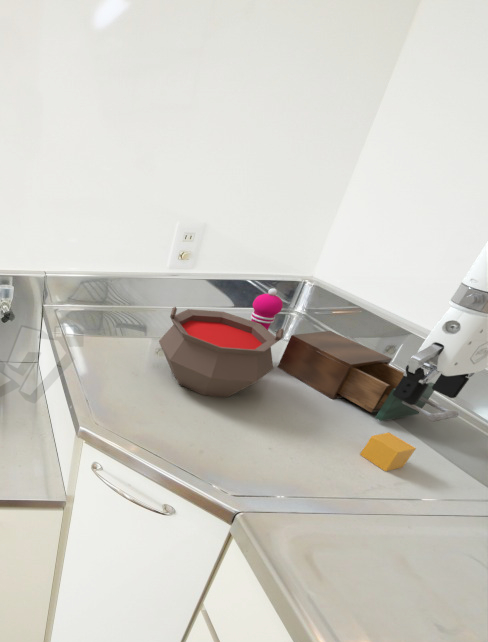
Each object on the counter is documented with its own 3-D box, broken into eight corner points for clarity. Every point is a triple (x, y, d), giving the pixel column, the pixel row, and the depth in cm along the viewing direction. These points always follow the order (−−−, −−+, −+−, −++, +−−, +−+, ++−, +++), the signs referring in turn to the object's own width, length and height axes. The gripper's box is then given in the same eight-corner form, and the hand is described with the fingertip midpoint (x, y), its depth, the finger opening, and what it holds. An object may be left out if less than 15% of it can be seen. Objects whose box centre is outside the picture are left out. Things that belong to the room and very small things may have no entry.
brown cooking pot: (259, 371, 105) (284, 310, 97) (264, 423, 86) (297, 353, 78) (158, 347, 114) (174, 289, 106) (143, 389, 95) (161, 323, 87)
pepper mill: (233, 367, 106) (262, 291, 96) (226, 354, 112) (252, 281, 102) (264, 371, 105) (297, 295, 95) (255, 358, 111) (285, 285, 101)
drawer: (453, 432, 85) (475, 402, 81) (414, 440, 82) (435, 410, 78) (355, 380, 101) (370, 354, 97) (319, 386, 98) (333, 358, 94)
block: (376, 450, 80) (389, 432, 78) (402, 467, 76) (416, 448, 74) (359, 454, 79) (371, 435, 77) (385, 471, 75) (398, 452, 73)
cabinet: (372, 392, 98) (392, 358, 94) (332, 399, 95) (351, 364, 91) (314, 361, 110) (330, 330, 106) (277, 367, 107) (291, 334, 103)
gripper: (482, 315, 57) (412, 416, 65) (558, 308, 62) (484, 403, 70) (420, 295, 63) (363, 390, 72) (493, 290, 68) (432, 379, 76)
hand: (423, 396), depth 71 cm, fingers open, 9 cm apart
